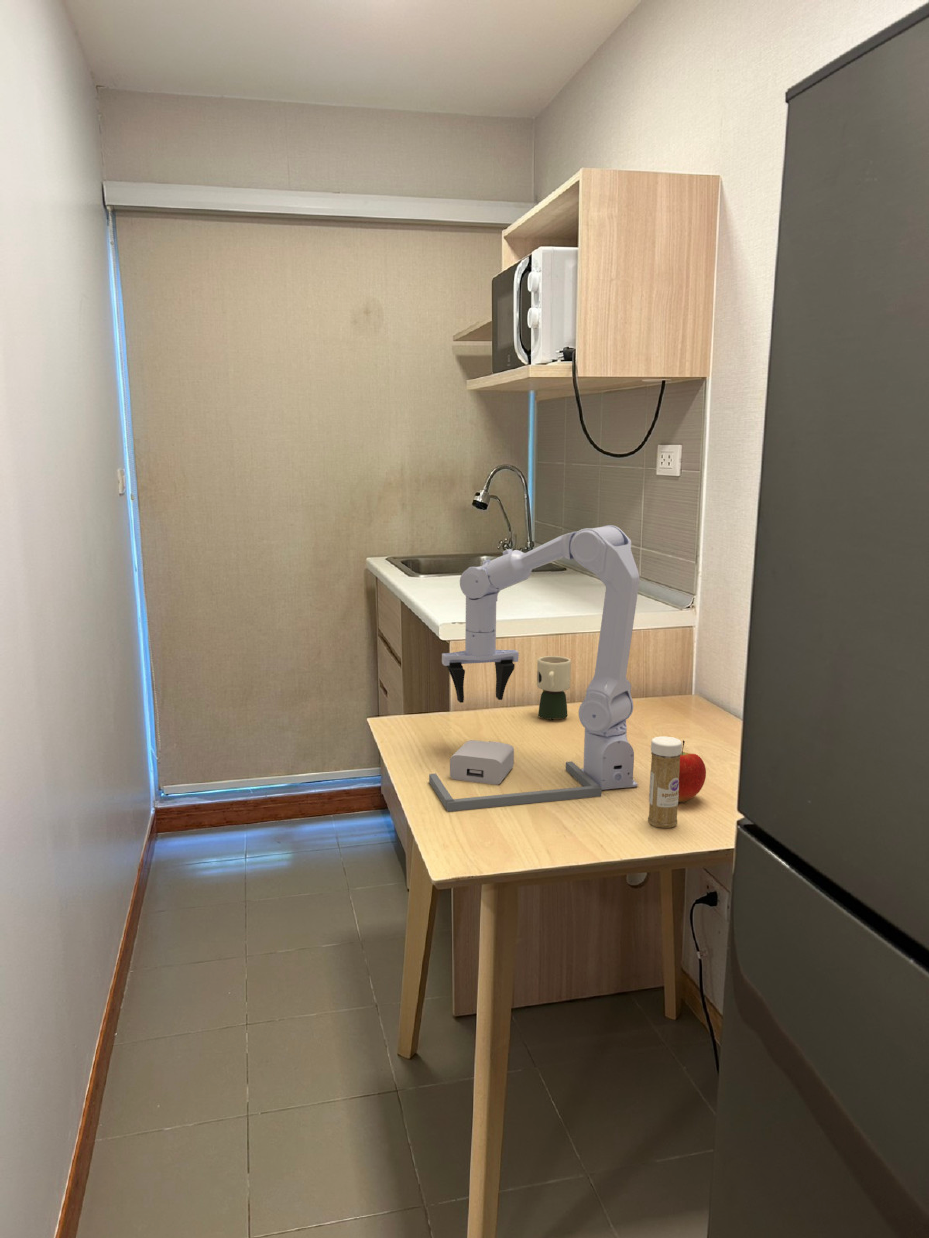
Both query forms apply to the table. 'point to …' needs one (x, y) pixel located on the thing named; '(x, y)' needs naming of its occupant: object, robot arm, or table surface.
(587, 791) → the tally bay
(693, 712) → the table surface
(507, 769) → the charger
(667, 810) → the sprinkles bottle
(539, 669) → the character mug
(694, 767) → the apple
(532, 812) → the table surface
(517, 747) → the table surface
